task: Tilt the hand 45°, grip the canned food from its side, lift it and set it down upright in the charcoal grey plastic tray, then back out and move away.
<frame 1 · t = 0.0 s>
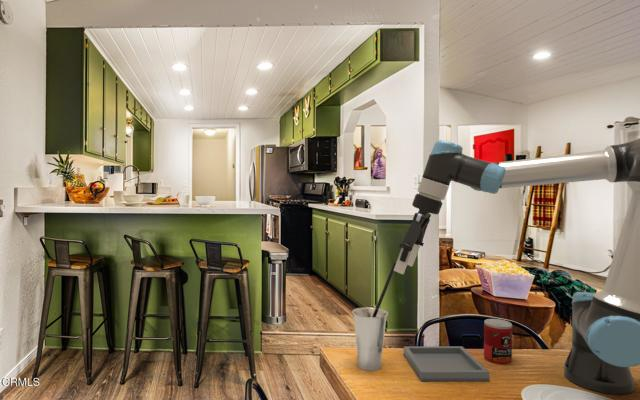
hand: (403, 268, 112), 28 cm above the table, tool tilted 20°, fingers open, 13 cm apart
tray: (443, 367, 113), on the table
canned food: (497, 360, 119), on the table
glass: (371, 367, 112), on the table
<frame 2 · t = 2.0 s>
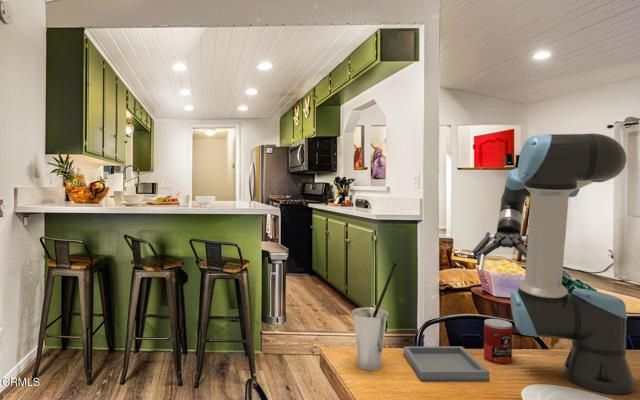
hand: (502, 274, 127), 24 cm above the table, tool tilted 45°, fingers open, 13 cm apart
nothing on the table moved.
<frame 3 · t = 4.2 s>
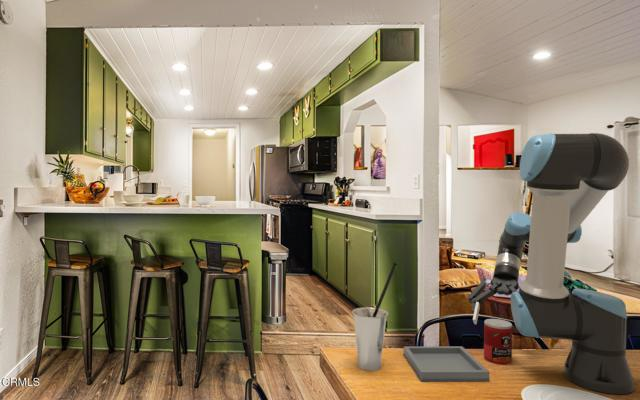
hand: (497, 326, 122), 9 cm above the table, tool tilted 45°, fingers open, 13 cm apart
nothing on the table moved.
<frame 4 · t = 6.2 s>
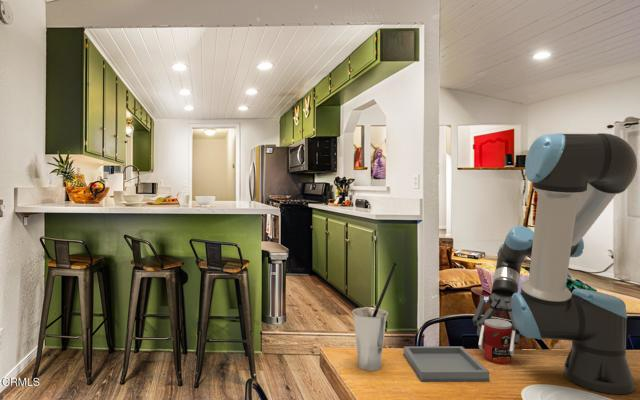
hand: (495, 350, 116), 4 cm above the table, tool tilted 45°, fingers closed on canned food, 8 cm apart
canned food: (497, 360, 119), on the table, touching gripper
everything else where it was.
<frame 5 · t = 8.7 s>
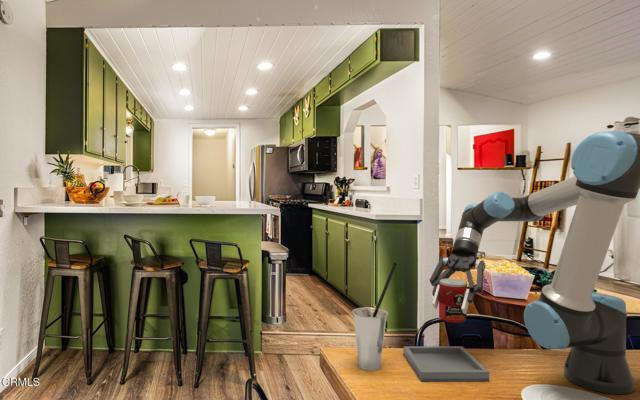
hand: (448, 308, 114), 16 cm above the table, tool tilted 45°, fingers closed on canned food, 8 cm apart
canned food: (452, 319, 117), point 12 cm above the table, touching gripper
everything else where it was.
when the fingers open (6 cm above the table, at t = 11.5 s): canned food drops 1 cm, resting on tray.
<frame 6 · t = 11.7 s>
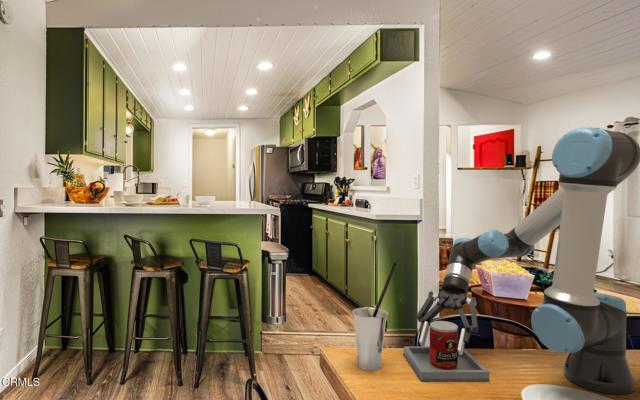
hand: (440, 348, 110), 6 cm above the table, tool tilted 45°, fingers open, 10 cm apart
canned food: (443, 364, 113), point 1 cm above the table, touching tray
everything else where it was.
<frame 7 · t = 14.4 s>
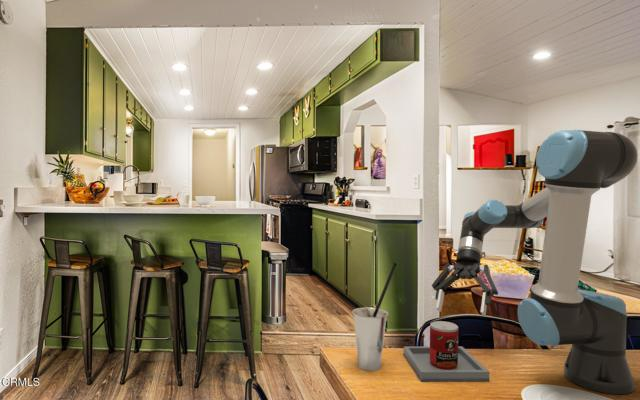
hand: (460, 312, 123), 13 cm above the table, tool tilted 40°, fingers open, 13 cm apart
nothing on the table moved.
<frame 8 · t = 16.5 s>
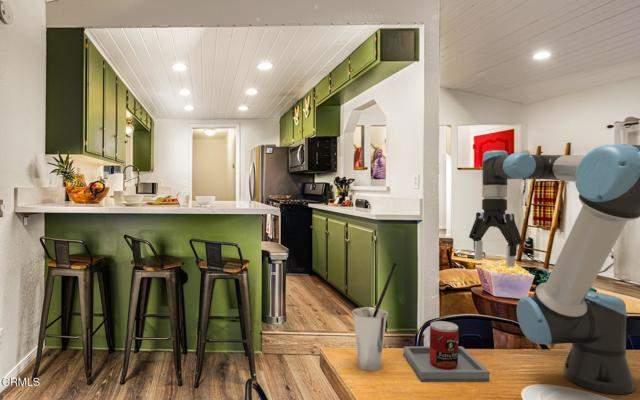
hand: (493, 263, 131), 27 cm above the table, tool pointing down, fingers open, 13 cm apart
nothing on the table moved.
at the end: canned food 0.2 cm from the tray (horizontally); canned food point 0.6 cm above the table; canned food tilted 0° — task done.
